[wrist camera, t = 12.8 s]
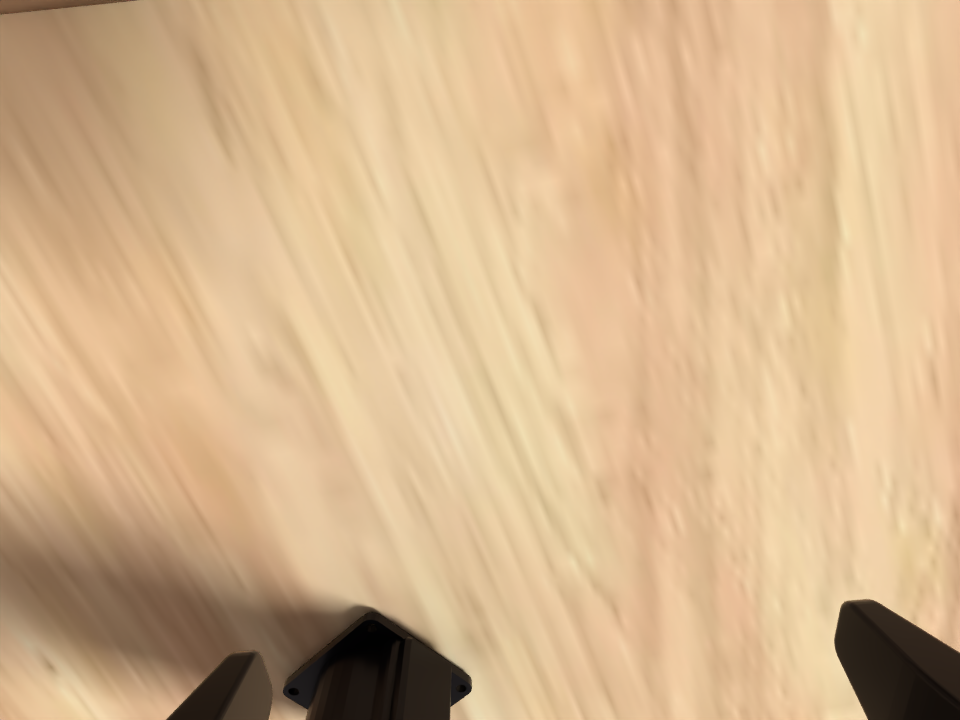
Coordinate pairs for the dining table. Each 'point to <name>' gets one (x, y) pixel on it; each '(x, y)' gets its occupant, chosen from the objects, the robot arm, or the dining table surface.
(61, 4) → the holder box
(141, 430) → the dining table surface
